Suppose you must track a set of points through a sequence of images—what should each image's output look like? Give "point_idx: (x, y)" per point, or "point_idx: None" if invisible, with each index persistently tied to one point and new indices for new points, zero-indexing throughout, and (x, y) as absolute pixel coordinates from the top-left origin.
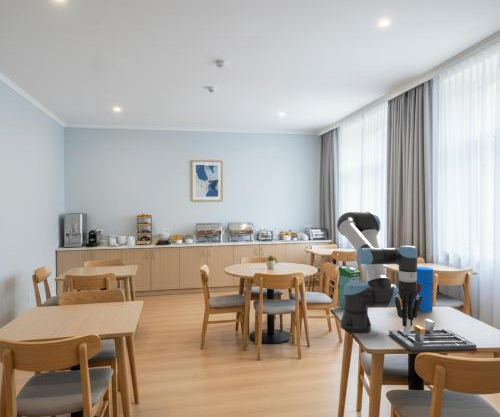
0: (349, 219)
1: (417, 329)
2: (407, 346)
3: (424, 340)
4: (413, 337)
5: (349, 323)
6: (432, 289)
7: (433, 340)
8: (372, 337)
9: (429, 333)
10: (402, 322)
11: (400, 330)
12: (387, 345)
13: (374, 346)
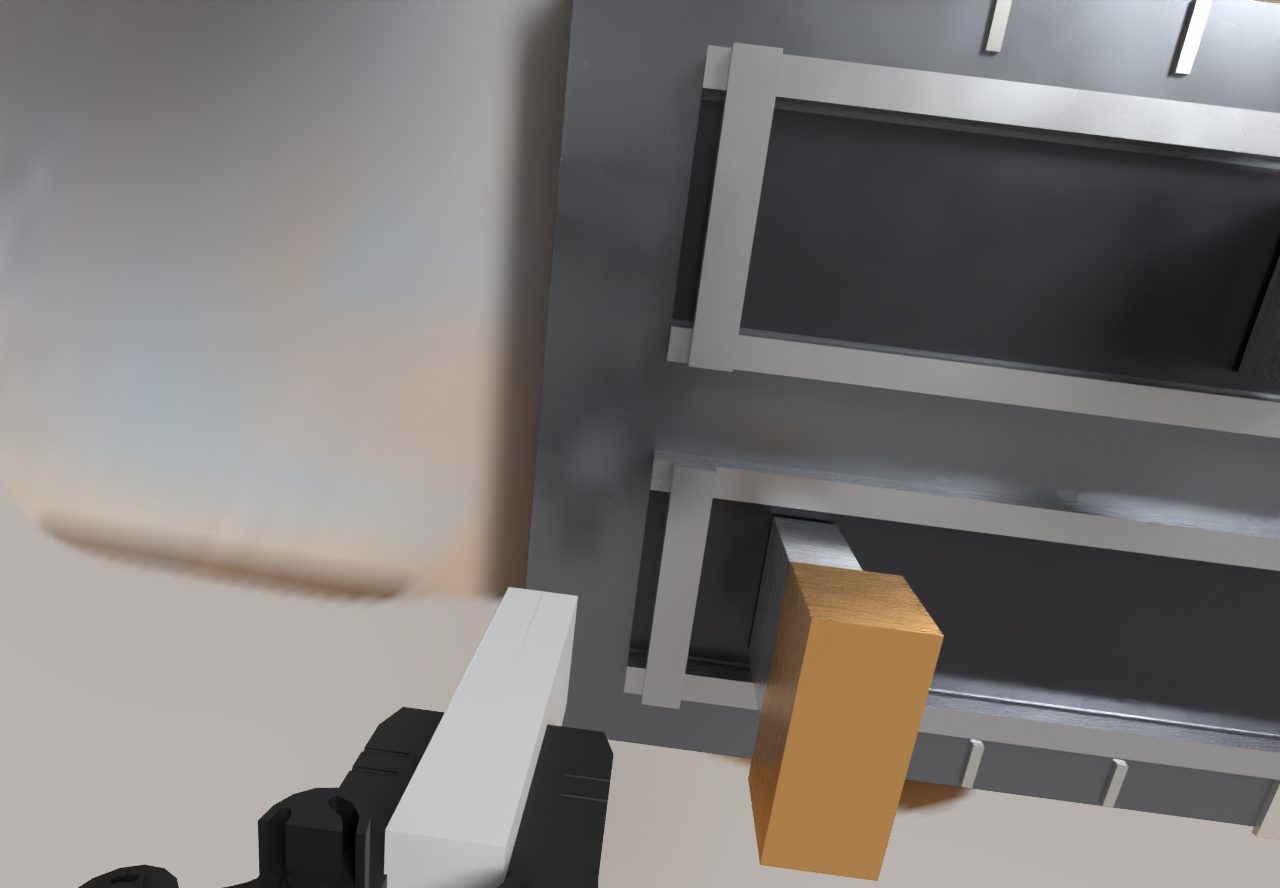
0: None
1: (775, 720)
2: None
3: None
4: (759, 499)
5: None
6: None
7: (1054, 610)
8: (193, 67)
9: (1263, 358)
10: (354, 766)
11: (734, 124)
12: (300, 454)
13: (89, 453)
